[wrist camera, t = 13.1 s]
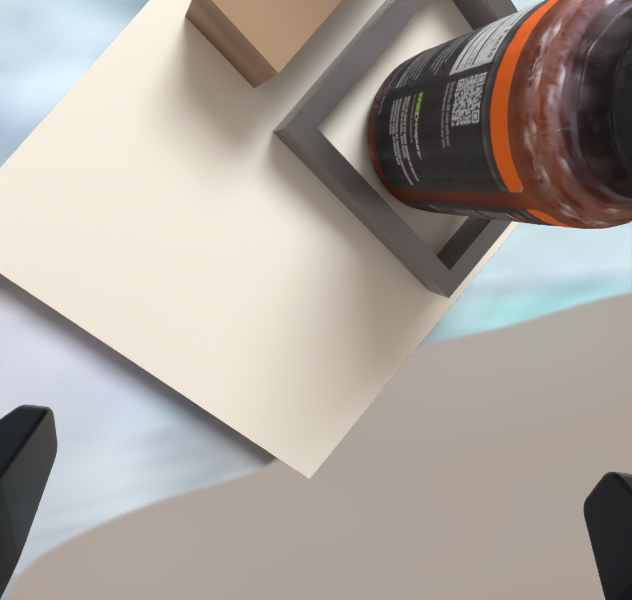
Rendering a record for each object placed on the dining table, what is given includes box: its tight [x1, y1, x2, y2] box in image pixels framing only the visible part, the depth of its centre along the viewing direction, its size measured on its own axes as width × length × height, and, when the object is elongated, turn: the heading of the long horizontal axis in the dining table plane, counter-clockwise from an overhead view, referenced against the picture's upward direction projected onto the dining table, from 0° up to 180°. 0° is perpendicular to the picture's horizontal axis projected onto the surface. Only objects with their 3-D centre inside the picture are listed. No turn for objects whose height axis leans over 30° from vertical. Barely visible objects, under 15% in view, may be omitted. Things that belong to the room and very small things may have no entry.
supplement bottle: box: [367, 0, 632, 229], centre depth 15 cm, size 6×6×11 cm
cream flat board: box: [0, 0, 519, 479], centre depth 20 cm, size 19×16×1 cm
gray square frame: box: [273, 0, 518, 298], centre depth 20 cm, size 9×9×2 cm
